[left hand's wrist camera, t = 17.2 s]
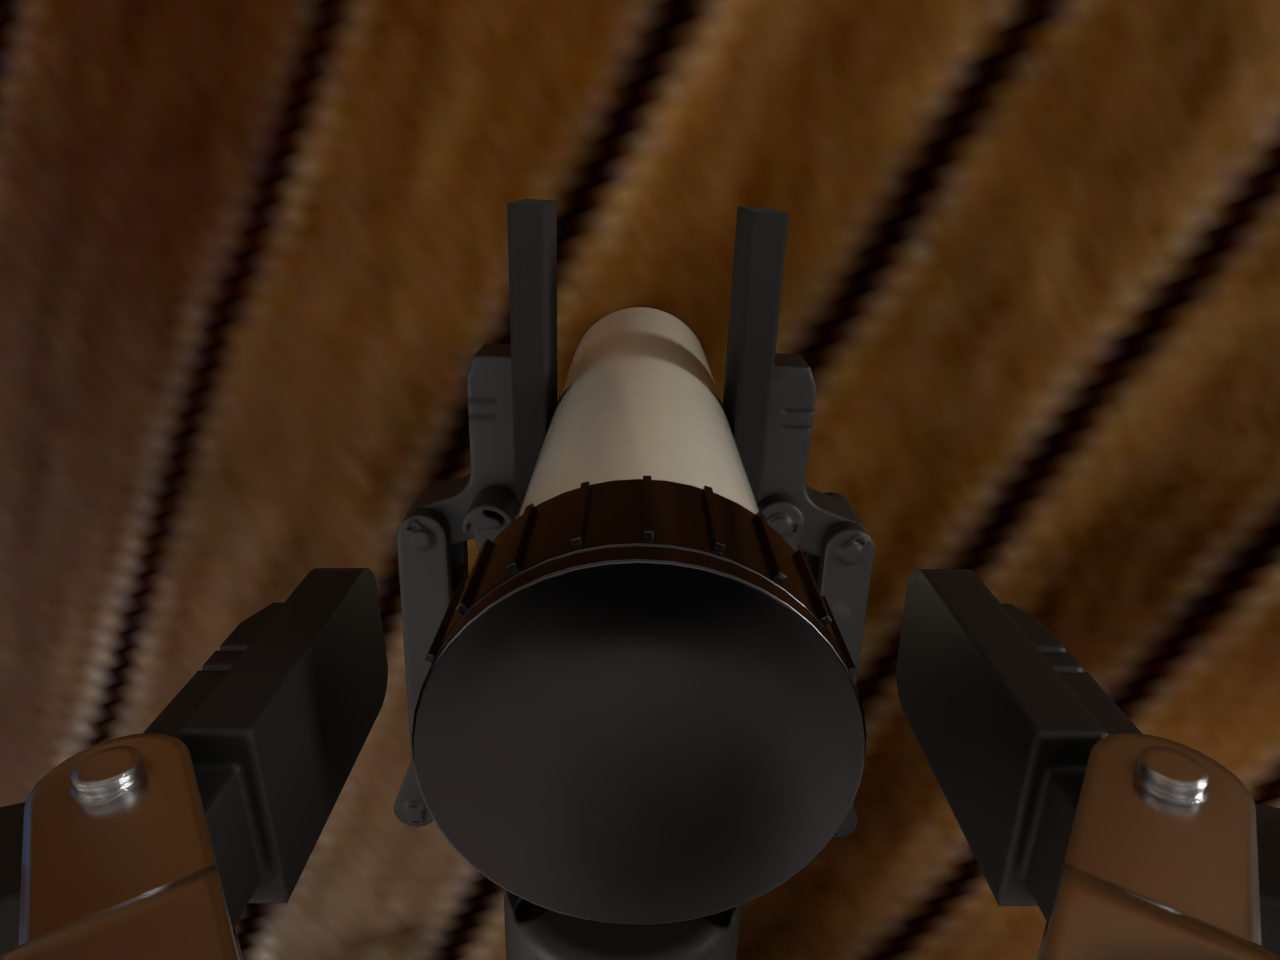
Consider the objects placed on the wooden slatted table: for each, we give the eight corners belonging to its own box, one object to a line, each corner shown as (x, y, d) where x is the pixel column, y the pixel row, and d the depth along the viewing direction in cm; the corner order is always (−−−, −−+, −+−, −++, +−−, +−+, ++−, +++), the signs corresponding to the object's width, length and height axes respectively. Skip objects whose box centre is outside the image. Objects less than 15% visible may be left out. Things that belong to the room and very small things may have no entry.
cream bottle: (677, 284, 24) (750, 509, 8) (727, 409, 26) (869, 806, 10) (549, 338, 25) (385, 646, 9) (604, 458, 26) (551, 906, 10)
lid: (392, 526, 10) (328, 619, 8) (789, 426, 10) (830, 497, 8) (518, 824, 12) (492, 962, 10) (857, 754, 12) (904, 883, 10)
